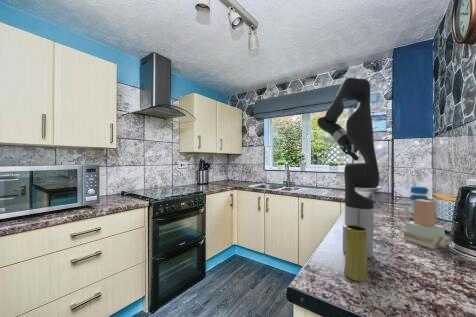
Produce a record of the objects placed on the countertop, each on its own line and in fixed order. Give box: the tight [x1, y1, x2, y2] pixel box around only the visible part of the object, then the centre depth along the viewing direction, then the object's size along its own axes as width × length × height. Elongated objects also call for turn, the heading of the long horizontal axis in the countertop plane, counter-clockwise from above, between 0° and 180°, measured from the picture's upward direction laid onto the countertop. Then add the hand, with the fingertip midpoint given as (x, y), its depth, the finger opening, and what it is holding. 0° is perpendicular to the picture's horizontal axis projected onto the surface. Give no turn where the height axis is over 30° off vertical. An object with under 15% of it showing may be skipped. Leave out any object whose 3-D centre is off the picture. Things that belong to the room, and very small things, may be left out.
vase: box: [343, 225, 369, 282], centre depth 60 cm, size 6×6×14 cm
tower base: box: [403, 230, 448, 250], centre depth 86 cm, size 10×10×4 cm
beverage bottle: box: [408, 186, 430, 222], centre depth 110 cm, size 8×8×20 cm
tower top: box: [405, 221, 446, 239], centre depth 86 cm, size 9×9×4 cm
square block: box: [414, 199, 437, 227], centre depth 86 cm, size 5×5×10 cm
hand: (363, 159), depth 101 cm, fingers open, 8 cm apart
